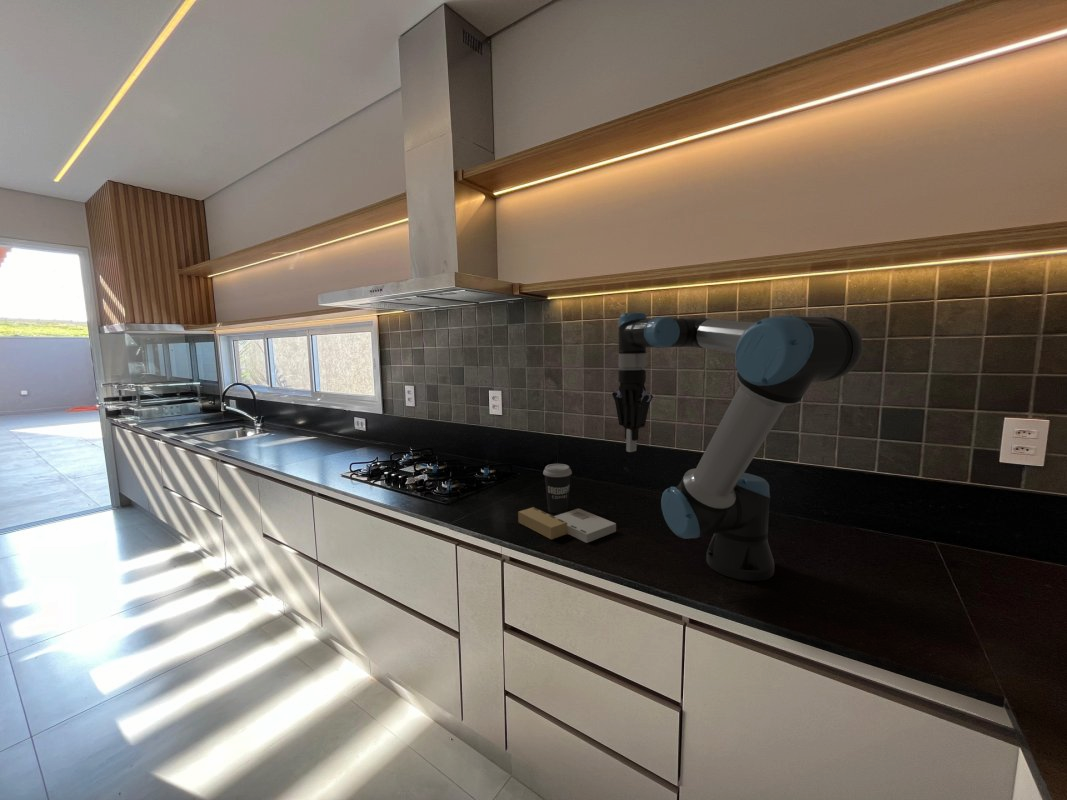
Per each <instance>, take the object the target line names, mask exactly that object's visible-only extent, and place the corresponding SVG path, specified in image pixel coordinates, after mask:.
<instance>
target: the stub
mask: <svg viewBox="0 0 1067 800" xmlns="http://www.w3.org/2000/svg"><path fill="white" fill-rule="evenodd" d="M517 516H518V520H517V521H518V523H519V524H520V525H522V526H525V527H526V528H527V529H528V528H529V529H531V530H532V531H534V532H536V533H538V534H540V535H542V536H543V537H546V538H547V539H549V540H554V539H557V538H559V537H563V536H565V535H568V534H567V522H565V521H563V520H561V519H558V518H556V517H554V516H555V515H552V514H550V513H547V512H545V511H543V510H540V509H538V508H536V507H534V506H532V507H529V508H526V509H522V510H520V511H519V510H518V511H517Z"/></svg>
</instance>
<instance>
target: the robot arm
mask: <svg viewBox="0 0 1067 800" xmlns="http://www.w3.org/2000/svg"><path fill="white" fill-rule="evenodd" d="M618 319H619V322H618V368H619V370H618V383H619V387H618V390H617V391H614V392H612V397H613V399H614V402H615V409H616V415H617V421H618V425H619V426H622V427H623V428H624V439H625V441H626V444H625V446H626V447H625V451H626V452H628V453H633V452H636V451H637V450H638V449H637V443H638V442H637V441H638V440H639V430H640V429H641V428H644V427H645V426H646V422H647V418H648V417H647V416H648V413H649V408H650V404H651V402H652V400H653V398H654V396H653V394H649V393H648V392H647V390H646V387H645V384H646V381H647V378H646V377H647V371H646V370H645V368H646V366H647V361H646V360H647V348H657V349H660V348H662V349H663V348H681V347H683V348H685V347H687V348H696V349H697V348H698V349H704V350H705V349H707V350H714V351H720V352H726V353H731V354H734V357H736V360H734V364H735V368H736V370H737V372H736V375H735V376H736V380H737V382H738V383H739V387H738V388H737V391H736V392H735V395H734V396H733V398H732V400H731V402H730V404H729V406H728V408H727V409H726V411H725V412H724V415H723V417H722V418H721V421H720V422H719V424H718V427H717V428H716V430H715V432H714V434H713V436H712V438H711V439H710V441H709V443H708V445H707V447H706V449H705V450H704V453H703V454H702V456H701V459H700V460H699V462H698V464H697V465H696V468H691V469H689V470H687V471H686V472H685V473H684V475H683V477H682V478H681V481H680V482H679V484H678V485H677V486H670V487H668V488H666V489H665V490H664V491H663V492H662V496H661V500H660V505H661V511H662V516H663V518H664V520H665V522H666V525H667V526H668V527H669V529H670V531H672V533H674V534H675V535H676V536H677V537H679V538H682V539H685V540H686V539H699V538H701V537H705V536H711V535H713V536H712V538H711V540H710V542H709V545H708V547H707V550H706V563H707V565H708V566H709V567H710V568H711V569H712V570H713V571H715V572H717V573H718V574H720V575H722V576H725V577H727V578H731V579H734V580H738V581H747V582H760V581H766V580H769V579H770V578H772V577H773V576H774V575H775V561H774V557H773V554H772V550H771V548H770V545H769V541H768V535H769V516H770V501H771V500H770V499H771V495H770V494H771V493H770V484H769V482H768V481H767V480H766V479H765V478H763V477H762V476H758V475H755V474H751V473H748V472H746V470H747V468H748V467H749V465H750V464H751V462H752V461H753V460H754V457H755V456H756V454H757V452H758V451H759V450H760V447H762V445H763V443H764V441H765V440H766V438H767V436H768V435H769V434H770V432H771V430H772V429H773V427H774V425H775V424H776V423H777V420H778V419H779V417H780V416H781V414H782V412H783V411H784V409H785V408H786V406H792V405H793V406H794V405H797V404H798V403H799V402H800V401H801V400H802V398H803V397H804V395H806V392H807V391H808V389H809V387H810V386H811V385H812V384H813V383H817V382H828V381H834V380H836V379H839V378H842V377H844V376H845V375H847V374H849V373H850V372H851V371H853V369H854V370H855V368H856V366H857V365H858V364H859V362H860V361H861V358H862V357H863V352H864V342H863V338H862V336H861V333H860V332H859V331H858V329H857V328H856V327H855V326H853V324H851V323H850V322H848V321H847V320H844V319H841V318H837V317H832V316H831V317H829V316H817V317H816V316H815V317H814V316H796V315H778V316H771V317H767V318H766V317H765V318H763V319H760V320H757V321H755V322H754V321H753V322H752V321H738V320H725V319H724V320H723V319H712V318H703V317H698V318H677V317H671V316H657V317H652V318H647V314H646V313H645V312H627V313H626V312H625V313H621V315H620V316H619V318H618Z"/></svg>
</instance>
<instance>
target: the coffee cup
mask: <svg viewBox="0 0 1067 800" xmlns="http://www.w3.org/2000/svg"><path fill="white" fill-rule="evenodd" d="M542 474H543V475H544V481H545V482H544V483H545V490H546V491H545V492H546V493H545V494H546V502H547V511H548V513H549V514H554V515H560V514H563V513H566V512H568V507H569V497H570V496H569V493H570V483H571V482H570V481H571V475H572V474H573V472H572V469H571V468H570V465H568V464H564V463H551V464H547V465H546V466H545V467H544V469H543V472H542Z"/></svg>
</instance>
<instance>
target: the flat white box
mask: <svg viewBox="0 0 1067 800" xmlns="http://www.w3.org/2000/svg"><path fill="white" fill-rule="evenodd" d="M553 516H554V517H556V518H558V519H561V520H563V521H565V522H567V534H566V535H570V536H571V537H574V538H576V539H578V540H579V541H582V542H584V543H587V544H588V543H590V542H593V541H596V540H598V539H601V538H603V537H605V536H608V535H610V534H611V535H612V534H613V533H616V532H617V523H616V522H613V521H611V520H608V519H606V518H604V517H601V516H598V515H596V514H593V513H591V512H589V511H586V510H583V509H581V508H575V509H573V510H569V511H567V512H566V513H563V514H555V515H553Z"/></svg>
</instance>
